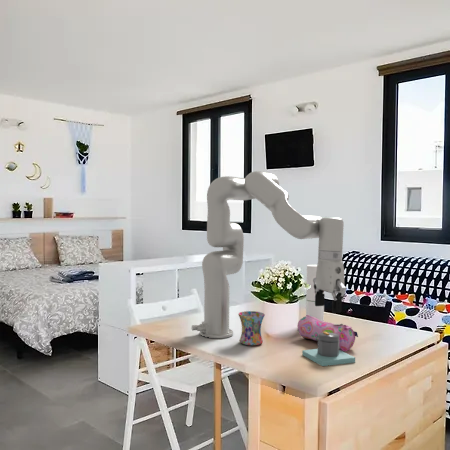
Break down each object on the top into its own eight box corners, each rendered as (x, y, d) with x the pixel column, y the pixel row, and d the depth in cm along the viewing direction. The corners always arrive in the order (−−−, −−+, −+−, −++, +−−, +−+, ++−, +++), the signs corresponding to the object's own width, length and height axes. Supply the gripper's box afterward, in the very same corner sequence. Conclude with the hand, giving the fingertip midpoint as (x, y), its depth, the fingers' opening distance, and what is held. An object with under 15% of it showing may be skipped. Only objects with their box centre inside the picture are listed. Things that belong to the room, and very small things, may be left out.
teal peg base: (322, 366, 146) (322, 350, 146) (302, 354, 157) (302, 339, 157) (355, 362, 150) (355, 346, 150) (333, 351, 161) (333, 336, 161)
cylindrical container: (325, 328, 193) (326, 266, 192) (307, 328, 193) (308, 266, 193) (321, 324, 200) (322, 264, 200) (304, 323, 201) (305, 264, 200)
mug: (265, 347, 165) (266, 316, 165) (238, 347, 165) (239, 316, 165) (262, 338, 177) (262, 309, 177) (237, 337, 177) (237, 309, 177)
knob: (342, 355, 152) (343, 335, 152) (325, 357, 150) (325, 337, 149) (331, 349, 158) (331, 330, 158) (314, 351, 156) (314, 332, 155)
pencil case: (358, 349, 165) (359, 323, 164) (340, 354, 159) (341, 327, 159) (313, 335, 182) (313, 312, 182) (295, 339, 177) (296, 315, 176)
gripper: (356, 259, 146) (353, 314, 147) (325, 252, 162) (323, 303, 163) (335, 259, 143) (333, 316, 144) (305, 253, 159) (303, 304, 160)
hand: (327, 309), depth 154 cm, fingers open, 9 cm apart
